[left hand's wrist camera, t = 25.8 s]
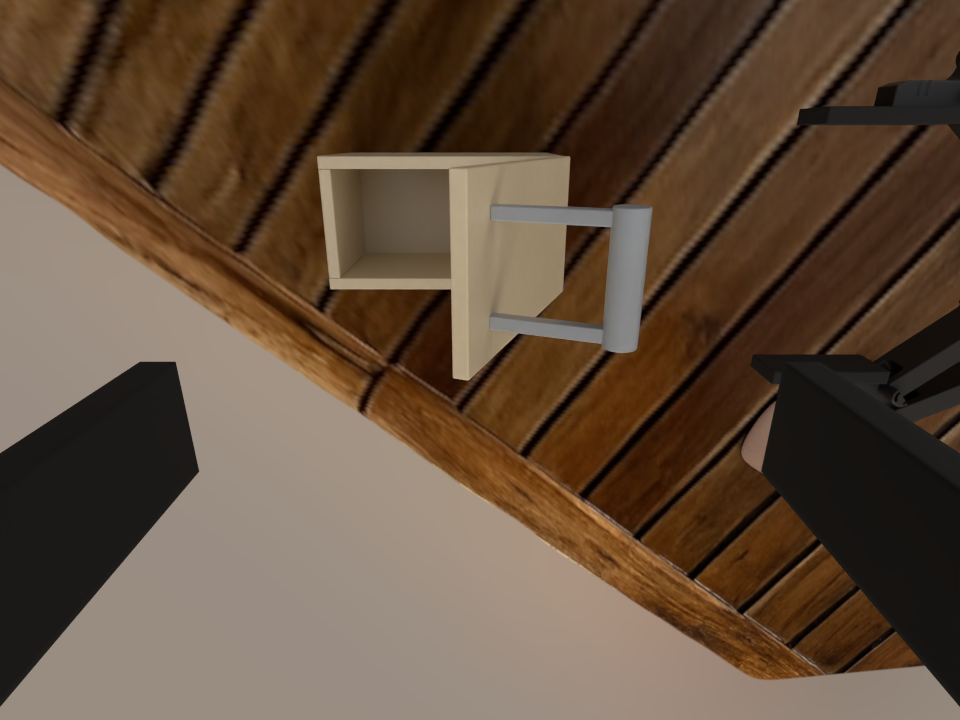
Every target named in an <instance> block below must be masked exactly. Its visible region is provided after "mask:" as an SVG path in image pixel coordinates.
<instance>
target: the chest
mask: <svg viewBox="0 0 960 720" xmlns="http://www.w3.org/2000/svg"><path fill="white" fill-rule="evenodd" d="M557 156H560V155H555V154H550V153H343V154H333V155H323V156H317V161H318V169H319V180H320V190H321V200H322V210H323V220H324V230H325V240H326V250H327V260H328V270H329V277H330V278H329V281H330V289H451V249H450V197H449V168H451V167H460V166H470V165H479V164H489V163H499V162H509V161H518V160H528V159H538V158H547V157H557Z"/></svg>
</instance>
